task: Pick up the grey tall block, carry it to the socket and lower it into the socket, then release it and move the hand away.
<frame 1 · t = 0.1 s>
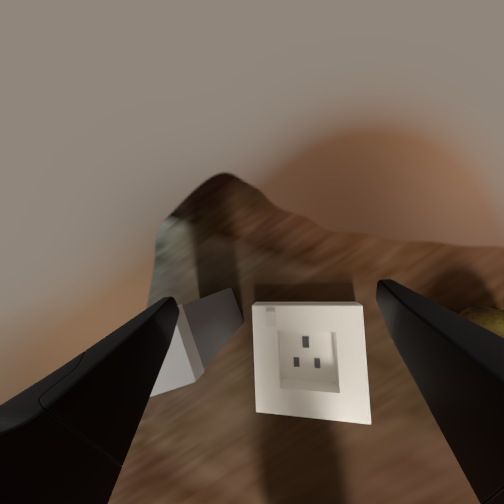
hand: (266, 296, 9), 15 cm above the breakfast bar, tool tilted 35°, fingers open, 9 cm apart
potato: (464, 370, 20), on the breakfast bar
socket: (306, 351, 22), on the breakfast bar
grey tall block: (221, 310, 25), on the breakfast bar
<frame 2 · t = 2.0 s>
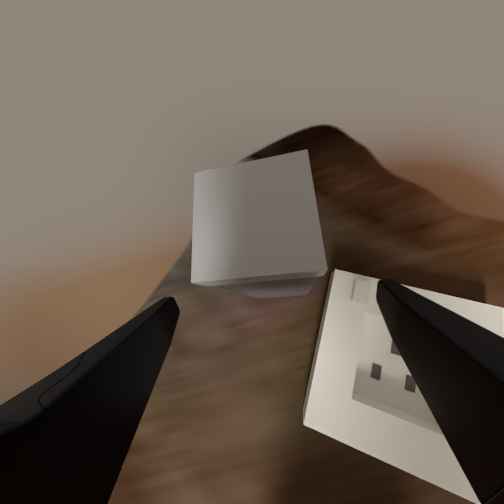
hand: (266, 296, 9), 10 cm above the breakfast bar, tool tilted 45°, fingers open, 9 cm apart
socket: (392, 361, 15), on the breakfast bar
grey tall block: (280, 273, 19), on the breakfast bar
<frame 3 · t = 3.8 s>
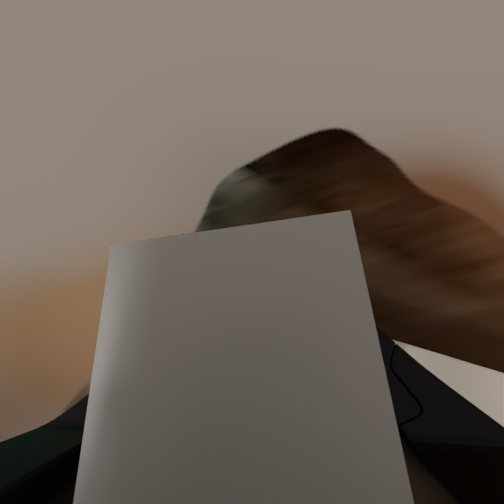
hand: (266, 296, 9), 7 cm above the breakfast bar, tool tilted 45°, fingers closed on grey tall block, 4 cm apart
socket: (436, 459, 11), on the breakfast bar
grey tall block: (281, 321, 15), on the breakfast bar, touching gripper
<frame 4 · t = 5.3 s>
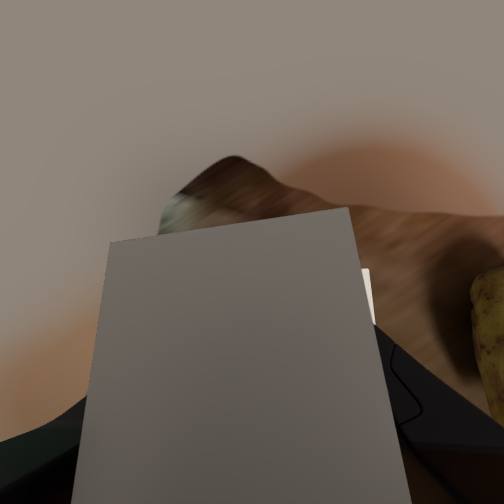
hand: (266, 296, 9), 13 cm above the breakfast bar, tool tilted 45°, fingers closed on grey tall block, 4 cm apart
potato: (490, 350, 17), on the breakfast bar
grey tall block: (281, 320, 15), point 7 cm above the breakfast bar, touching gripper
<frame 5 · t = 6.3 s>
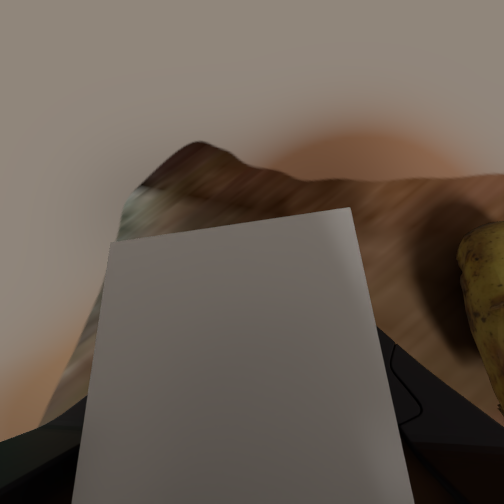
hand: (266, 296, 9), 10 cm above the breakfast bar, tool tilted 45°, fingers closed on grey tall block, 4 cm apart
potato: (487, 322, 15), on the breakfast bar
grey tall block: (281, 320, 15), point 3 cm above the breakfast bar, touching gripper
when the fingers open (8 cm above the breakfast bar, at t = 7.1 s): grey tall block stays where it is, resting on socket.
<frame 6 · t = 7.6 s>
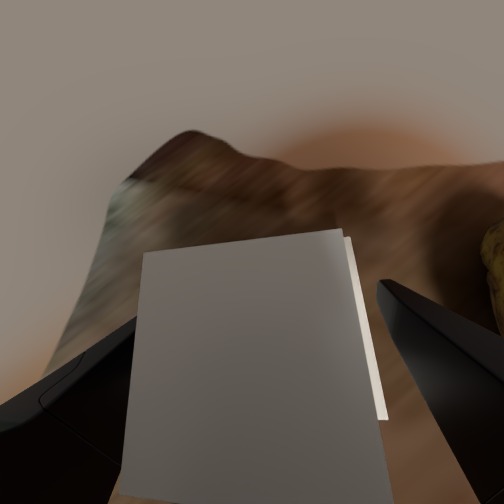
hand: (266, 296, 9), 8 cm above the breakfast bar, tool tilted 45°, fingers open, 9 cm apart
socket: (283, 319, 16), on the breakfast bar
grey tall block: (282, 319, 16), resting on socket
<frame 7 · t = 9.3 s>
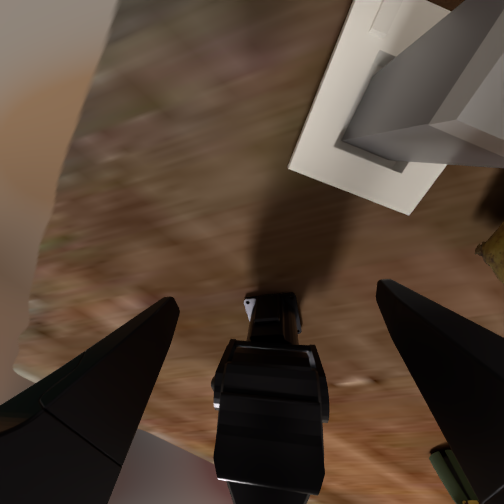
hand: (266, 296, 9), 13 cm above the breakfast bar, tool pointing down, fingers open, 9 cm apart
socket: (378, 122, 16), on the breakfast bar
grey tall block: (381, 120, 16), resting on socket
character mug: (446, 452, 36), on the breakfast bar
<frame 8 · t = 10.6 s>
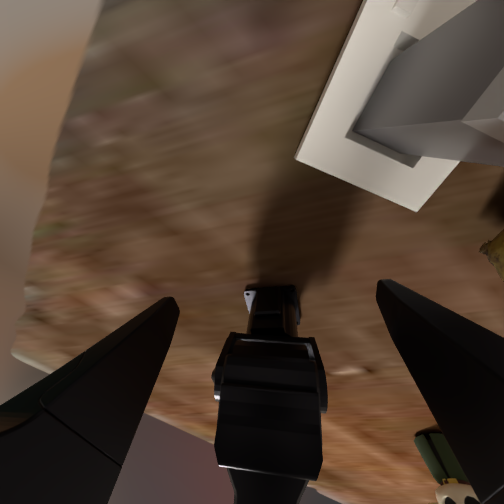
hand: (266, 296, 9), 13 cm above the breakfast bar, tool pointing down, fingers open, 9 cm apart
socket: (392, 111, 15), on the breakfast bar
grey tall block: (395, 110, 15), resting on socket
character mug: (430, 435, 39), on the breakfast bar
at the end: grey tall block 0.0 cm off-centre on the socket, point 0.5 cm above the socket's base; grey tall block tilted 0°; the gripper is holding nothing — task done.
